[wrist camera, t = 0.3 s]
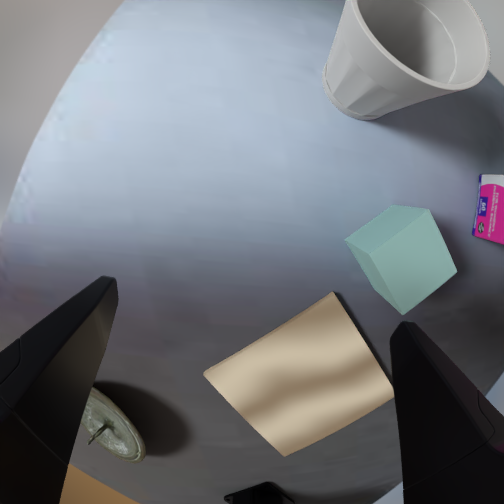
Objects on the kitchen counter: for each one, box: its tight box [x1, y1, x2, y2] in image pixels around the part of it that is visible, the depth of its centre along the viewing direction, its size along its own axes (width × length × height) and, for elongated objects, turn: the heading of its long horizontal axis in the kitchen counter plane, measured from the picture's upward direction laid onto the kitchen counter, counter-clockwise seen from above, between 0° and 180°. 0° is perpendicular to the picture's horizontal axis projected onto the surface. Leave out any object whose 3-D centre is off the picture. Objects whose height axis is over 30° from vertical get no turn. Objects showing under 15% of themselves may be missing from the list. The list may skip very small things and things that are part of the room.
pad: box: [204, 292, 394, 457], centre depth 27 cm, size 13×13×1 cm
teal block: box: [344, 205, 457, 315], centre depth 22 cm, size 5×5×6 cm
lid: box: [81, 386, 146, 463], centre depth 26 cm, size 11×10×5 cm
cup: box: [322, 0, 490, 120], centre depth 16 cm, size 8×8×12 cm
